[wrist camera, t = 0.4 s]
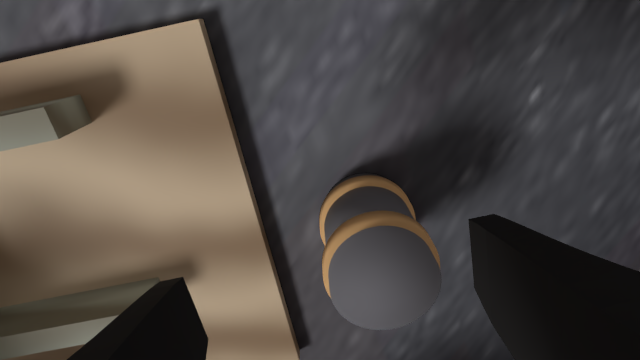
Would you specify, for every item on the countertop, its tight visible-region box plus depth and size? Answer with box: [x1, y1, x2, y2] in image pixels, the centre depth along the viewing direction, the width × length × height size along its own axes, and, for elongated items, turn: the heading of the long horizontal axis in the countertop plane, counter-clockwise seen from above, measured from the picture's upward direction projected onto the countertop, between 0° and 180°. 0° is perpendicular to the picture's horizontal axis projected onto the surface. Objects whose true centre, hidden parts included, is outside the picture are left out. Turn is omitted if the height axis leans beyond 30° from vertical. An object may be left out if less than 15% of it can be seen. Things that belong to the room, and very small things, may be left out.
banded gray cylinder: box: [319, 173, 441, 330], centre depth 17 cm, size 4×4×6 cm
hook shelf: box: [0, 19, 300, 360], centre depth 19 cm, size 18×16×3 cm
